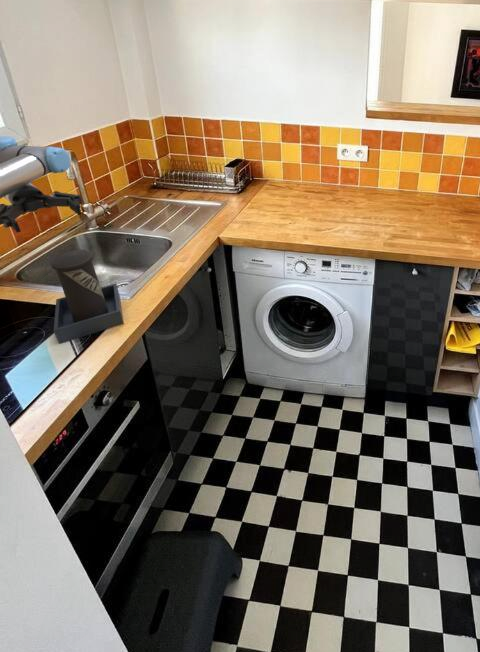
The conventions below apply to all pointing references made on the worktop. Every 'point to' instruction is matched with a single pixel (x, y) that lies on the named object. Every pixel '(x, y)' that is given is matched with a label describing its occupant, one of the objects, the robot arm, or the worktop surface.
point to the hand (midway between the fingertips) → (49, 218)
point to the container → (80, 284)
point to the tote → (71, 330)
